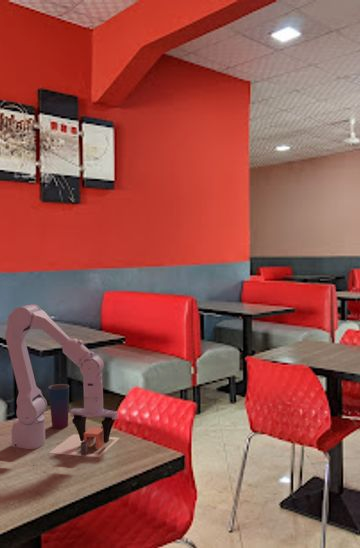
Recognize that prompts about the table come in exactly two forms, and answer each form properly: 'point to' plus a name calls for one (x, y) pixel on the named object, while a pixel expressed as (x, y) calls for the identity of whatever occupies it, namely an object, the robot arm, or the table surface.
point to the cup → (59, 405)
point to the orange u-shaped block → (95, 433)
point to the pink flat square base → (74, 443)
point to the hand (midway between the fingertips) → (94, 441)
